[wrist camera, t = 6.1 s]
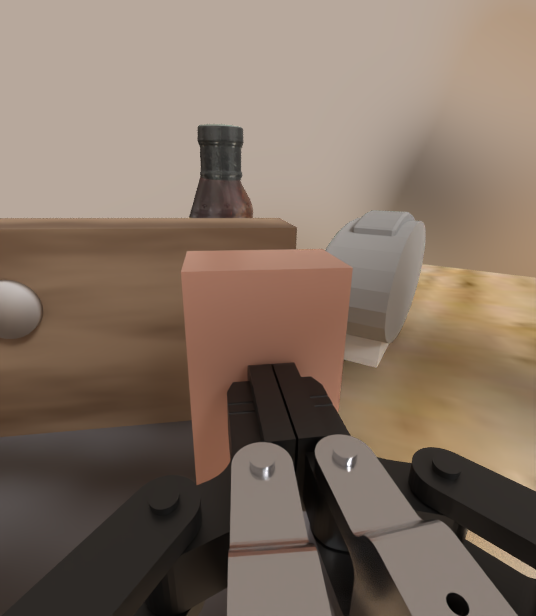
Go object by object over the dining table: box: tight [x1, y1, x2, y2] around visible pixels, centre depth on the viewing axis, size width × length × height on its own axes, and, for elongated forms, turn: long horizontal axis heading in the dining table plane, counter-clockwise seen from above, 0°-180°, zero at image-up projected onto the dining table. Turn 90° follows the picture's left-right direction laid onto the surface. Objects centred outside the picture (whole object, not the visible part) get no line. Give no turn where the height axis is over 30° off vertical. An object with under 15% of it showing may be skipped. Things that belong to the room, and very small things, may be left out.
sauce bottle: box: [189, 124, 253, 218], centre depth 35 cm, size 7×6×20 cm
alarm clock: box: [325, 211, 426, 368], centre depth 37 cm, size 23×6×13 cm, turn 151°
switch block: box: [0, 218, 335, 616], centre depth 17 cm, size 17×18×13 cm
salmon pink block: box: [181, 249, 353, 485], centre depth 14 cm, size 6×5×8 cm
